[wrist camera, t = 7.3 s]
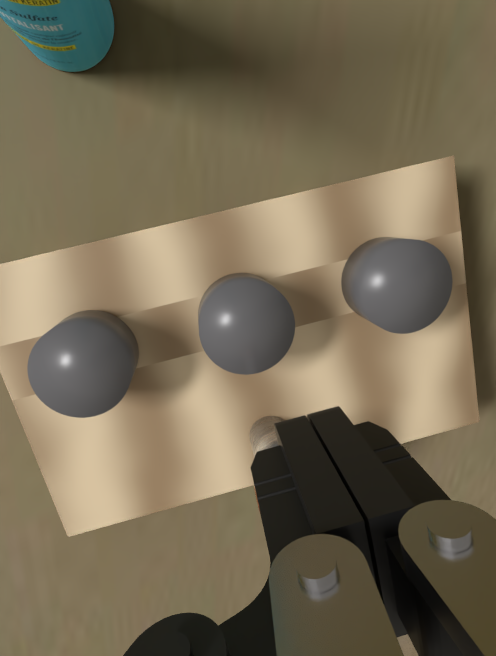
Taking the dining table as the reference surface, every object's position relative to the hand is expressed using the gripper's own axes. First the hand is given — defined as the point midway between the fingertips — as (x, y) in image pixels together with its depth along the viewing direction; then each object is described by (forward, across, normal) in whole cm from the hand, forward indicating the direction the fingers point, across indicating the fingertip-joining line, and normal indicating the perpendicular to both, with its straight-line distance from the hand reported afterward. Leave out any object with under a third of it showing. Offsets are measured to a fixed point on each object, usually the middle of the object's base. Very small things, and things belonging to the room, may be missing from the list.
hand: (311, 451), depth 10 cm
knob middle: (+18, 0, 0) cm, 18 cm away
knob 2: (+18, -8, 0) cm, 20 cm away
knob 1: (+18, +8, 0) cm, 20 cm away
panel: (+18, 0, +2) cm, 19 cm away
